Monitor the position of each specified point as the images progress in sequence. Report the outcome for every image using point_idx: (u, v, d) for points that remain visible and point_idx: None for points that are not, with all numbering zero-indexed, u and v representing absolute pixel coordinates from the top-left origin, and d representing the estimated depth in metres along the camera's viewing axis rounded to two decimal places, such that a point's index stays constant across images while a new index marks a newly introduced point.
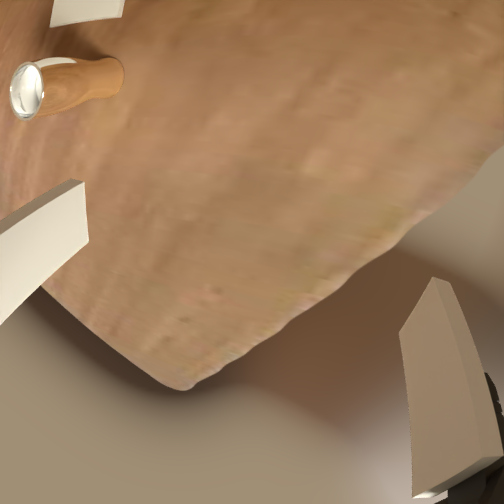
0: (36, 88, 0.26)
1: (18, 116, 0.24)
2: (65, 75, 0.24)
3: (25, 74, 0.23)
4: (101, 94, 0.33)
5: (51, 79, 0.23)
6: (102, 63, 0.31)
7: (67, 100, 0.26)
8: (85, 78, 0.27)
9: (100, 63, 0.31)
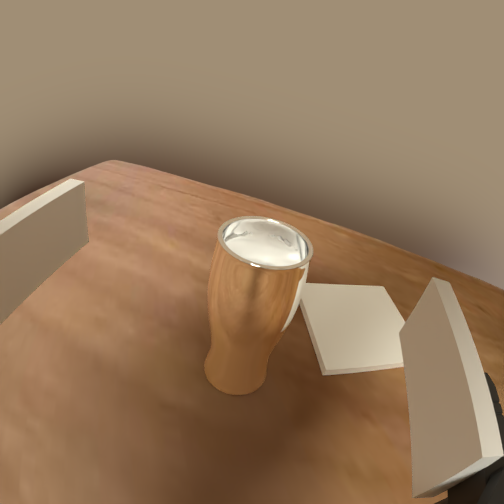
0: None
1: (224, 226, 0.22)
2: (281, 308, 0.21)
3: (279, 244, 0.25)
4: (218, 365, 0.26)
5: (286, 284, 0.20)
6: (265, 362, 0.27)
7: (236, 313, 0.21)
8: (262, 341, 0.22)
9: (266, 359, 0.27)
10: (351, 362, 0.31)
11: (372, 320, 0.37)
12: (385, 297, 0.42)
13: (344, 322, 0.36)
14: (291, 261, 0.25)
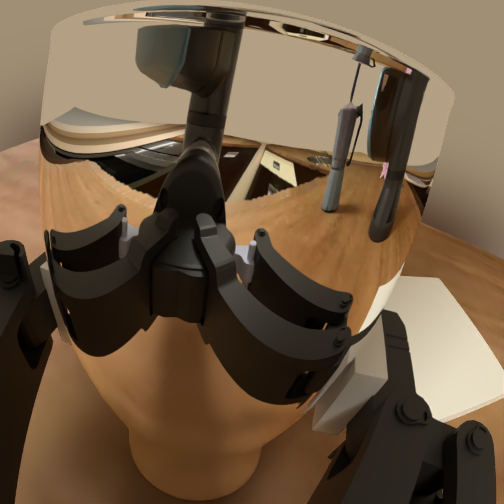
0: None
1: None
2: (331, 335, 0.04)
3: None
4: (142, 451, 0.09)
5: (383, 179, 0.03)
6: None
7: (106, 352, 0.04)
8: (242, 444, 0.05)
9: None
10: None
11: (438, 331, 0.20)
12: (446, 294, 0.25)
13: None
14: None
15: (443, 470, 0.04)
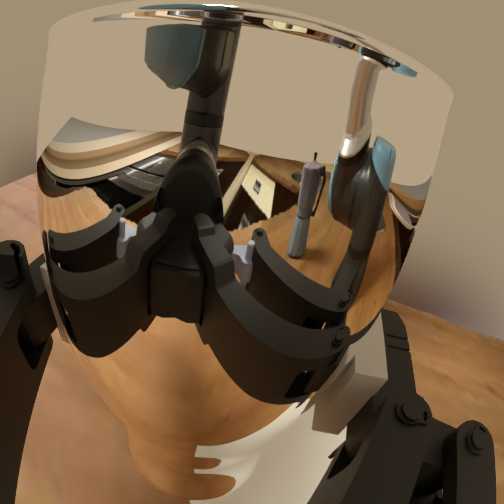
0: None
1: None
2: (329, 335, 0.04)
3: None
4: (141, 451, 0.09)
5: (381, 178, 0.03)
6: None
7: (104, 352, 0.04)
8: (240, 444, 0.05)
9: None
10: None
11: (306, 453, 0.20)
12: None
13: None
14: None
15: (443, 470, 0.04)
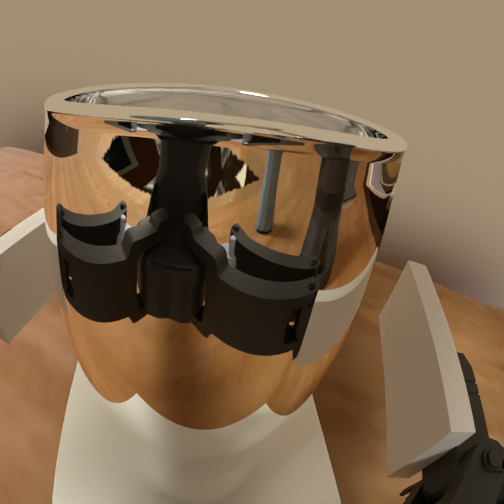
0: None
1: (105, 86, 0.06)
2: (291, 359, 0.05)
3: None
4: (144, 457, 0.10)
5: (318, 242, 0.03)
6: (252, 452, 0.11)
7: (108, 372, 0.05)
8: (227, 448, 0.06)
9: None
10: None
11: None
12: None
13: None
14: None
15: None
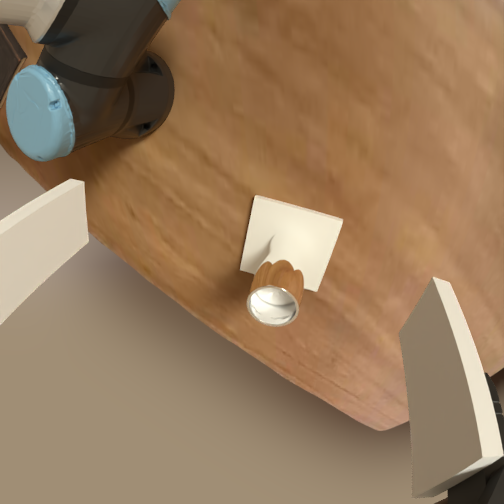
0: (274, 304, 0.44)
1: (291, 320, 0.39)
2: (273, 270, 0.40)
3: (257, 308, 0.42)
4: (301, 252, 0.47)
5: (272, 280, 0.38)
6: (273, 246, 0.48)
7: (295, 274, 0.40)
8: (282, 257, 0.42)
9: (273, 247, 0.48)
10: (321, 219, 0.47)
11: None
12: (247, 259, 0.54)
13: None
14: (252, 296, 0.42)
15: None
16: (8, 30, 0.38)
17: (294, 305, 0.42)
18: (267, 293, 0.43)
